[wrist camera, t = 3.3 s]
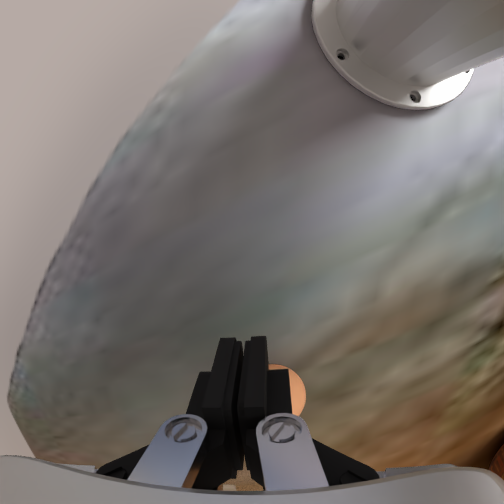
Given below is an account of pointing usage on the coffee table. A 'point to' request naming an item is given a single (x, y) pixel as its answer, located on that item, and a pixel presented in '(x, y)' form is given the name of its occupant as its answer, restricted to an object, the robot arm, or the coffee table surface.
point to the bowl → (498, 463)
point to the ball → (294, 389)
